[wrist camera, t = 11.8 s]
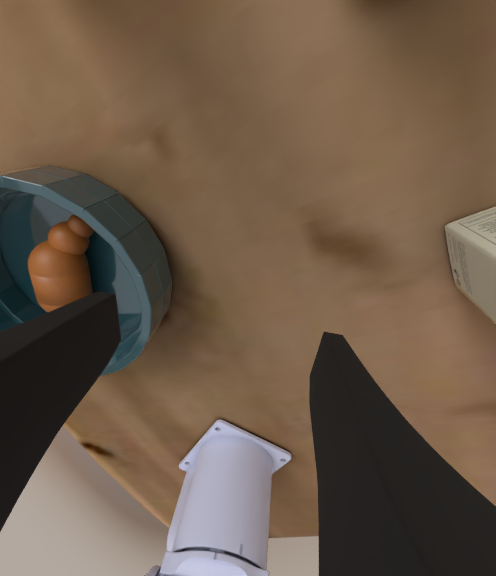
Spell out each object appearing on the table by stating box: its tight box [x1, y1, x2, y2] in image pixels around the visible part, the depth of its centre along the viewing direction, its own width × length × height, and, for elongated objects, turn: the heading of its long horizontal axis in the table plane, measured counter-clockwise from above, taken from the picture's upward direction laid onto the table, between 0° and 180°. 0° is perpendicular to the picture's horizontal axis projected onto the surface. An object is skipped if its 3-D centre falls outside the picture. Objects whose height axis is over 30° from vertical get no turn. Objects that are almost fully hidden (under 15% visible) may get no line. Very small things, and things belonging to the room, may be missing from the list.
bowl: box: [0, 166, 172, 376], centre depth 19 cm, size 13×13×4 cm
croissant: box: [28, 214, 94, 312], centre depth 19 cm, size 4×8×3 cm, turn 173°
